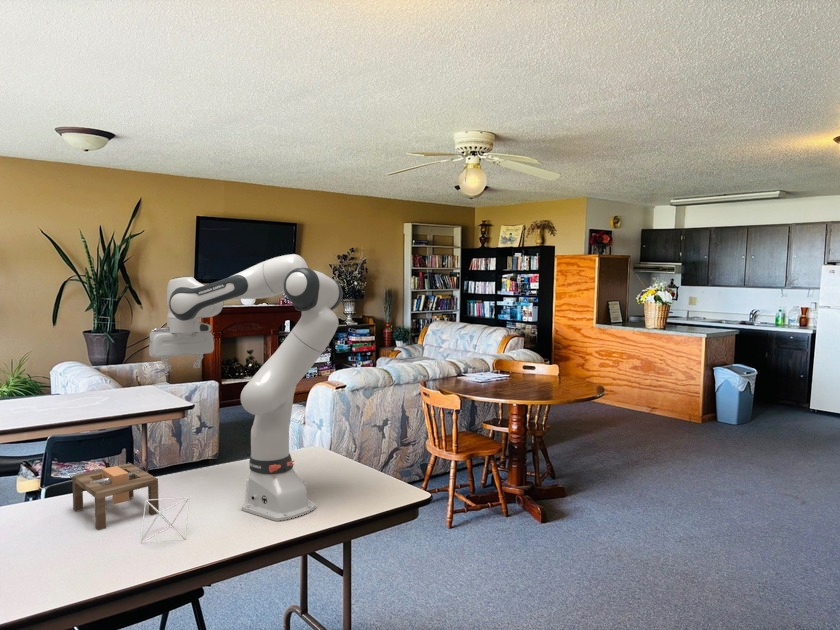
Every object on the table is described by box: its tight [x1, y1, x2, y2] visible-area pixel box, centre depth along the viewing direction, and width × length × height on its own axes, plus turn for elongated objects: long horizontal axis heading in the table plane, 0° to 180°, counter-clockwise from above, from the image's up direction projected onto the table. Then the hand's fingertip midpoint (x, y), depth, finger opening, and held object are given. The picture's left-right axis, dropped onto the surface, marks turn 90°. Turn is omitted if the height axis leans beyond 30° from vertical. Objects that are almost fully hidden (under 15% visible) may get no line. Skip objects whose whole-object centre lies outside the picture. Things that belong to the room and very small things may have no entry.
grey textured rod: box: [90, 471, 139, 485], centre depth 170 cm, size 2×13×2 cm, turn 136°
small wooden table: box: [71, 462, 160, 531], centre depth 170 cm, size 20×16×10 cm
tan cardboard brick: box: [102, 465, 130, 505], centre depth 170 cm, size 9×4×8 cm, turn 47°
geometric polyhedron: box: [139, 496, 190, 544], centre depth 155 cm, size 12×11×9 cm
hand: (182, 369), depth 193 cm, fingers open, 8 cm apart
